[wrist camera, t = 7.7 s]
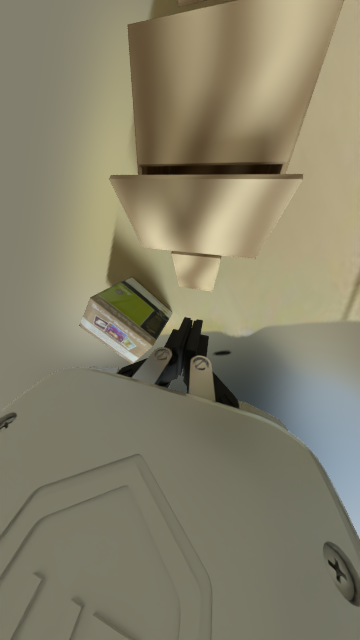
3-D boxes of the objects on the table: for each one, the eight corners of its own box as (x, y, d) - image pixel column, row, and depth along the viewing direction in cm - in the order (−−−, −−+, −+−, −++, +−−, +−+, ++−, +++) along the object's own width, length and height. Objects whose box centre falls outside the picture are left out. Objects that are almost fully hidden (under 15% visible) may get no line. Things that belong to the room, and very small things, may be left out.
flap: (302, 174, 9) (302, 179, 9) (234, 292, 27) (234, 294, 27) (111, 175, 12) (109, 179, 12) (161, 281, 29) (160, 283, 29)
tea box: (118, 300, 42) (76, 325, 29) (132, 275, 36) (88, 295, 24) (155, 330, 44) (131, 366, 32) (174, 312, 39) (153, 346, 27)
